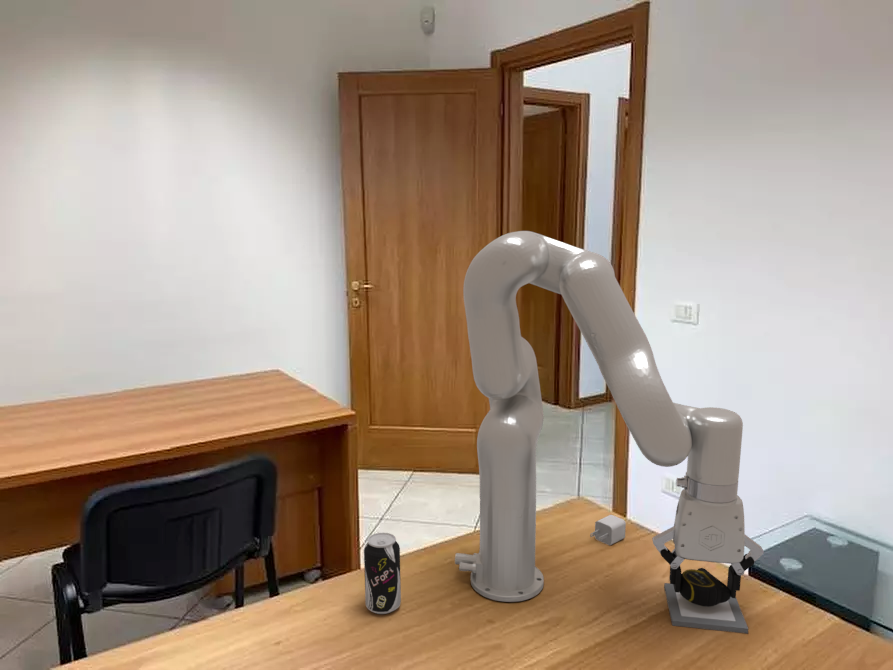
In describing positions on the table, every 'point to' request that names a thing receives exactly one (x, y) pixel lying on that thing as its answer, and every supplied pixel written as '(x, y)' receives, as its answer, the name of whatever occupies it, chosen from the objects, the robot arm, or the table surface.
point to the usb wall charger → (609, 530)
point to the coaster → (704, 613)
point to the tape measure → (703, 588)
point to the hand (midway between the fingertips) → (703, 590)
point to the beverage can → (382, 573)
